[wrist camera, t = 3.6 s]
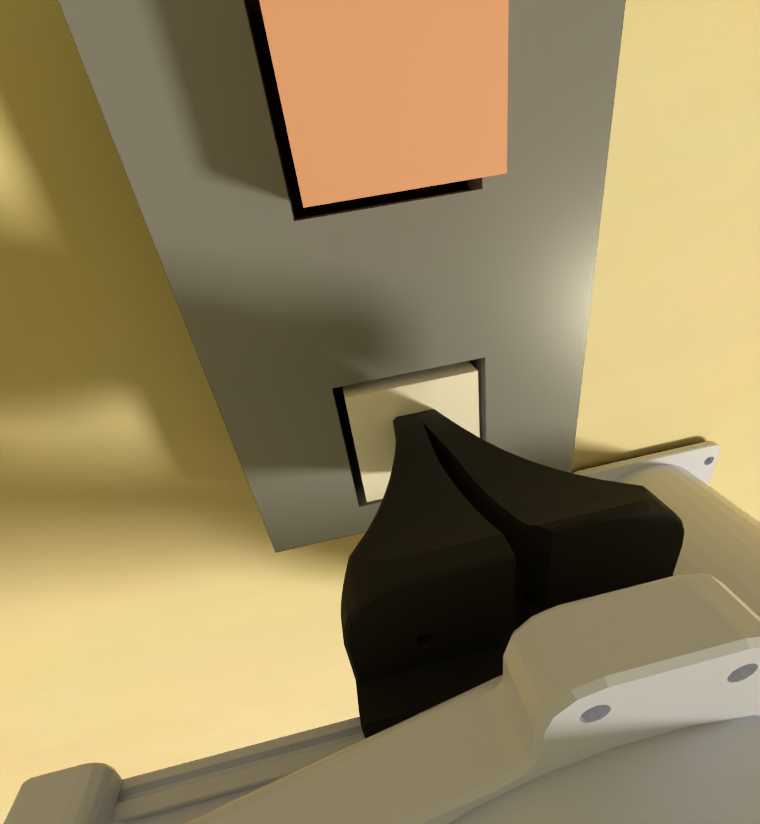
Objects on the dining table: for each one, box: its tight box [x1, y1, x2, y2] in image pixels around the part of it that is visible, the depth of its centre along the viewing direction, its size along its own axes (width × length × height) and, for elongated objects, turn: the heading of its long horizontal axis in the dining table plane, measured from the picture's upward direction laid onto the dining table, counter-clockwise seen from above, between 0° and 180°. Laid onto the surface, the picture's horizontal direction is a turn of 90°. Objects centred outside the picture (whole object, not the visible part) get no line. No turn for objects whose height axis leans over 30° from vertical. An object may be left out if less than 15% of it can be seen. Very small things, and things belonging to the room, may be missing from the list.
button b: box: [259, 0, 509, 208], centre depth 8 cm, size 4×4×4 cm
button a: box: [342, 361, 480, 502], centre depth 14 cm, size 4×4×4 cm
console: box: [58, 0, 626, 552], centre depth 12 cm, size 16×11×4 cm
